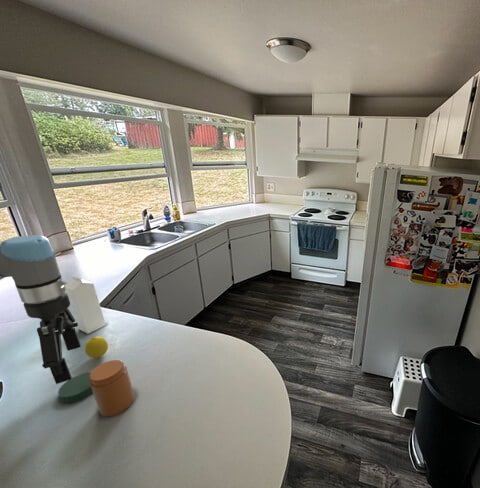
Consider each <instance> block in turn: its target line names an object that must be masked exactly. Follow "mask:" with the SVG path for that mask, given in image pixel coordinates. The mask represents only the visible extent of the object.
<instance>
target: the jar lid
mask: <svg viewBox="0 0 480 488" xmlns="http://www.w3.org/2000/svg"><path fill="white" fill-rule="evenodd" d="M91 372H92V371H88V372H83V373H80V374H77V375H75V376H73V377H72V378H71V380H68V381H65V382H63V384H62V385H61V386H60V387H59V389H58V392H57V394H58V398H59V400H60V402H62V403H65V404H66V403H67V404H69V403H74V402H75V403H76V402H78V401H80V400H83V399H85V398H86V397H88V396H90V395H91V394H93V392H92V390H91V387H90V379H89V378H90V374H91Z"/></svg>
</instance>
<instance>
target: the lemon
mask: <svg viewBox="0 0 480 488" xmlns="http://www.w3.org/2000/svg"><path fill="white" fill-rule="evenodd" d="M108 349H109V343H108V342H107V340H106V339H105V338H104V337H102V336H92V337H91V338H90V339H88V340H87V341H86V342H85V345H84V350H85V354H86V355H87V356H88V357H89V358H92V359H97V358H101V357H102V356H104V355H105V354H106V353H107V351H108Z"/></svg>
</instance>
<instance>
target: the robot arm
mask: <svg viewBox="0 0 480 488" xmlns="http://www.w3.org/2000/svg"><path fill="white" fill-rule="evenodd" d="M55 254H56V253H55V250H54V249H53V247H52V244H51V242H50V240H49V238H47V237H46V236H45V235H44V236H43V235H37V234H35V235H33V234H31V235H22V236H21V235H20V236H15V237H11V238H7V239H5V240H3V241H1V242H0V278H12V280H13V283H14V285H15V288H16V291H17V294H18V295H19V298H20V301H21V302H22V303H23V307H24V310H25V313H26V315H27V317H29V318H32V319H39V320H40V321H39V327H37V328H36V332H37V336H38V339H39V345H40V351H41V358H42V365H41V366H42V368H43V369H50V372H51V374H52V377H53V379H54V382H55V384H56V385H58V384H61V383H65V382H67V381H68V380H71V378H73V377H72V375H71V372H70V369H69V367H68V364H67V362H66V358H65V357H63V347H62V338H63V341H64V344H65V347H66V350H67V351H73V350H75V349H79V348H81V347H82V346H81V343H80V339H79V336H78V333H77V331H76V328H77V327H78V323H77V322H76V318H75V316H74V315H73V314H72V312H71V311H70V309H69V307H70V306H71V304H70V301H69V298H68V295H67V292H66V289H65V286H66V285H67V284H68V281H66V280H63V277H62V275H61V272H60V268H59V265H58V262H57V259H56V255H55Z"/></svg>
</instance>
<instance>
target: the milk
mask: <svg viewBox="0 0 480 488" xmlns="http://www.w3.org/2000/svg"><path fill="white" fill-rule="evenodd" d="M64 286H65V289H66V291H65V292H66V293H67V295H68V298H69V301H70V306H71V310H72V312H73V316H74V319H75V322H76V323H78V326H77V327H78V329H79V330H80V331H82V332H84V333H85V334H87V335H88V334H91V333H93V332H95V331H97V330H99V329H101V328H103V327H105V326H107V325H106V321H105V318H104V317H105V316H104V314H103V311H102V308H101V304H100V301H99V297H98V294H97V290H96V287H95V284H94V283H93V282H91V281H88V280H86V279H82V278H80V277H78V276H75V275H72V280H70V281H69V282H67V284H66V285H64Z"/></svg>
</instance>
